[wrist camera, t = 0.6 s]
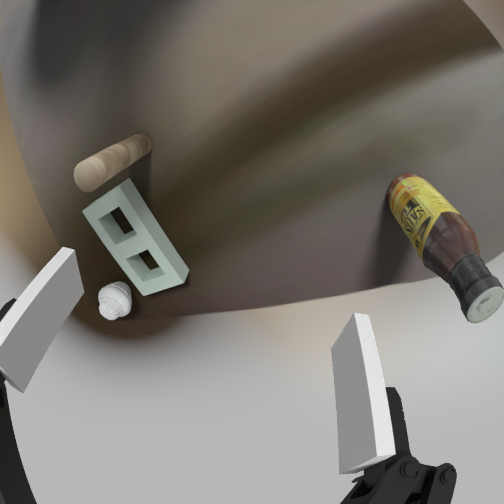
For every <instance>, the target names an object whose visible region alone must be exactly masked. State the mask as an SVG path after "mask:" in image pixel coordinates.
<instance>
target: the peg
mask: <svg viewBox="0 0 504 504" xmlns="http://www.w3.org/2000/svg"><path fill="white" fill-rule="evenodd" d="M151 147H152V142H151V139H150V137H149V136H148V135H147V134H145V133H137V134H135V135H133V136H131V137H128V138H126V139H124V140H122V141H120V142H118V143H116V144H114V145H112V146H110V147H108V148H106V149H104V150H102V151H100V152H98V153H96V154H94V155H93V156H91V157H89V158H87V159H85V160H83V161H82V162H80V163H78V164H77V165H76V167H75V169H74V180H75V182H76V184H77V186H78V187H79V188H80V189H81V190H82V191H84V192H92V191H94V190H95V189H97V188H98V187H99V186H101V185H102V184H104V183H105V182H106V181H108V180H109V179H110V178H112V177H113V176H115V175H116V174H118V173H119V172H120V171H122V170H123V169H125V168H126V167H128V166H129V165H131V164H132V163H134V162H135V161H137V160H138V159H140V158H141V157H143V156H145V155H146V154H148V153H149V152H150V150H151Z"/></svg>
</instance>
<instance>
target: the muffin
mask: <svg viewBox="0 0 504 504" xmlns="http://www.w3.org/2000/svg"><path fill="white" fill-rule="evenodd" d="M98 299H99V303H100V306H99V310H100V313H101V314H102V316H103V317H105V318H107V319H109V320H115V319H117V318H118V317H123V316H126V315H127V314H128V313H129V312H130V310H131V304H132V299H131V290H130V288H129V286H128V285H127V284H126V283H124V282H121V281H117V282H114V283H112V284H109V285H106V286H105V287H103V288H102V289H101V290H100V292H99V295H98Z"/></svg>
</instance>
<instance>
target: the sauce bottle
mask: <svg viewBox="0 0 504 504" xmlns="http://www.w3.org/2000/svg"><path fill="white" fill-rule="evenodd" d="M387 199H388V203H389V206H390V209H391V212H392V214H393V215H394V217H395V218H396V220H397V221H398V223H399V224H400V226H401V227H402V229H403V231H404V232H405V234H406V236H407V237H408V239H409V240H410V242H411V243H412V245H413V247H414V248H415V250H416V252H417V254H418V255H419V257H420V259H421V261H422V262H423V264H424V265H425V266H426V267H427V268H428V269H430V270H432V271H433V272H435V273H436V274H437V275H438V276H440V277H441V278H442V279H443V280H445V281H446V282H447V283H448V284H449V285H450V287H451V288H452V289H453V290H454V292H455V294H456V296H457V298H458V299H459V301H460V304H461V310H462V312H463V314H464V315H465V317H466V319H467V320H468V321H469V322H471V323H479V322H482V321H484V320H486V319H487V318H489V317H490V316H491V315H492V314H493V313H495V312H496V311H497V309H498V308H499V307H500V305H501V304H502V301H503V299H504V288H503V287H502V285H501V283H500V282H499V280H498V279H497V278H496V277H494V276H492V274H491V273H490V272H489V270H488V268H487V267H486V266H485V264H484V262H483V260H482V259H481V258H480V254H479V253H480V250H479V243H478V239H477V237H476V234H475V233H474V231H473V229H472V228H471V227H470V226H469V225H468V224H467V223H466V221H465V220H464V218H463V217H462V216H461V215H460V214H459V213H458V211H457V210H456V209H455V208H454V207H453V206H452V205H451V204H450V203H449V202H448V201H447V200H446V199H445V198H444V197H443V196H442V195H441V194H440V193H439V192H438V191H437V190H436V189H435V188H434V187H433V186H432V185H431V184H430V183H429V182H427V181H426V180H425V179H423V178H422V177H420V176H418V175H415V174H412V173H406V174H403V175H400V176H398V177H397V178H396V179H395V180H394V181H393V182H392V184H391V186H390V188H389V191H388V197H387Z"/></svg>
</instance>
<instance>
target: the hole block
mask: <svg viewBox="0 0 504 504" xmlns="http://www.w3.org/2000/svg"><path fill="white" fill-rule="evenodd" d="M117 207H120V209H121V210H122V212H123V213H124V215H125V217H126V218H127V220H128V221H129V223H130V224H131V226H132V227H133V229H134V230H132V231H131V232H129V233H127V234H124V233H123V231H122V230H121V228H120V227H119V225H118V224H117V222H116V221H115V219H114V218H113V216H112V215H111V213H110V212H111V211H112V210H114V209H116V208H117ZM82 212H83V214H84V215H85V217H86V218H87V220H88V221H89V223H90V224H91V226H92V227H93V229H94V230H95V232H96V233H97V234H98V236H99V237H100V239H101V240H102V242H103V243H104V244H105V246H106V247H107V249H108V250H109V251H110V253H111V254H112V256H113V257H114V258H115V260H116V261H117V262H118V264H119V265H120V266H121V268H122V269H123V270H124V272H125V273H126V274H127V276H128V277H129V278H130V280H131V281H132V282H133V283H134V285H135V286H136V287H137V288H138V290H139V291H140V292H141V293H142V295H143V296H145V295H148V294H152V293H155V292H158V291H161V290H164V289H167V288H170V287H173V286H176V285H179V284H182V283H184V282H185V279H186V277H187V275H188V272H189V269H188V267H187V266H186V264H185V263H184V261H183V260H182V259H181V257H180V256H179V254H178V253H177V251H176V250H175V248H174V247H173V245H172V244H171V242H170V241H169V239H168V238H167V236H166V235H165V233H164V232H163V230H162V228H161V227H160V225H159V224H158V222H157V221H156V219H155V218H154V216H153V214H152V213H151V211H150V210H149V208H148V207H147V205H146V203H145V202H144V200H143V199H142V197H141V195H140V194H139V192H138V190H137V189H136V187H135V185H134V184H133V182H132V181H131V179H130V178H129V179H127V180H126V181H124V182H122V183H121V184H119V185H118V186H116V187H115V188H113V189H112V190H110V191H109V192H107V193H106V194H104V195H103V196H101V197H100V198H98V199H97V200H96V201H94V202H93V203H92V204H90V205H89V206H88V207H87V208H86V209H84V210H83V211H82ZM147 249H148V251H149V252H150V253H151V255H152V256H153V258H154V259H155V260H156V262H157V263H158V265H159V266H160V267H158V268H155V269H152V270H149V268H148V267H147V265H146V264H145V263H144V261H143V260H142V259H141V257H140V256H139V254H138V253H140V252H143V251H145V250H147Z"/></svg>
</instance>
